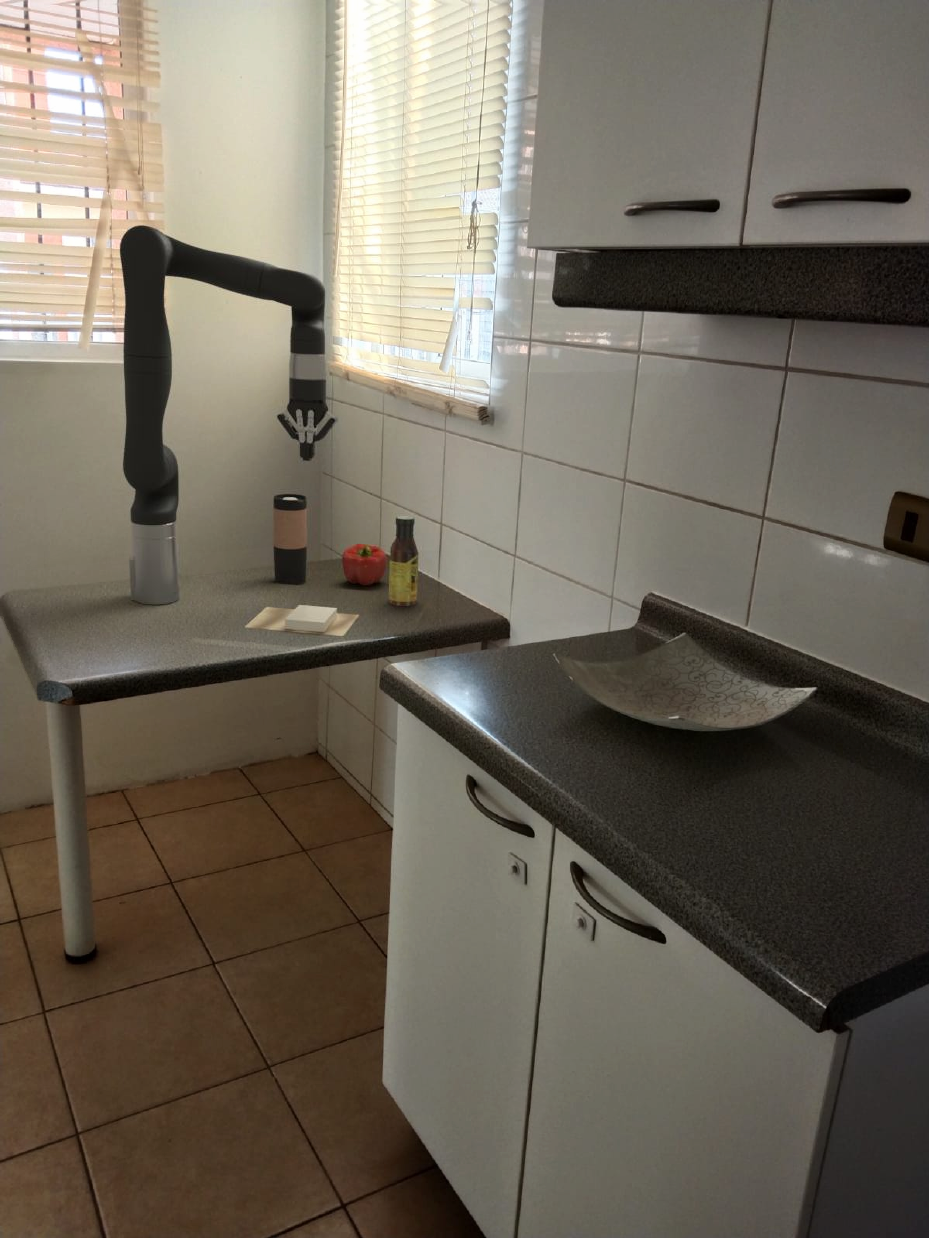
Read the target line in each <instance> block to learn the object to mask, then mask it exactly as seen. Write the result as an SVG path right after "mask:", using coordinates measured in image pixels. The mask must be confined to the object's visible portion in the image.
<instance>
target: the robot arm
mask: <svg viewBox="0 0 929 1238" xmlns="http://www.w3.org/2000/svg"><path fill="white" fill-rule="evenodd" d="M119 256H120V263H121V271H122V278H123V279H122V280H123V288H124V300H125V303H124V318H123V319H124V320H123V321H124V322H123V377H124V378H123V379H124V404H125V405H124V406H125V437H124V448H123V459H122V471H123V475H124V477H125V480H126V482H127V483H128V484H129V486H130V487H132V488H133V489H134V491H135V492H134V493H135V494H134V498H133V499H134V500H133V502H132V505H131V508H130V527H131V528H130V531H131V547H132V555H131V556H129V557H128V566H129V567H128V568H129V569H128V570H129V585H130V601H132V600H134V601H133V602H137V603H139V602H140V604H144V605H165V604H171V603H175V602H177V601H178V600H180V581H179V580H180V575H179V556H178V555H179V552H178V551H179V550H178V532H177V531H178V528H177V525H178V524H177V510H178V507H179V498H180V496H179V492H180V491H179V490H180V487H179V486H180V485H179V482H180V481H179V477H180V476H179V465H178V460H177V457H176V454H175V453H174V452H173V450H171V448H170V447H169V446H167V445H165V444H164V438H163V434H164V433H163V428H164V427H163V425H164V424H163V423H164V417H165V413H166V408H167V405H168V400H169V398H170V393H171V387H172V380H173V379H172V378H173V377H172V376H173V357H172V356H173V354H172V352H173V351H172V342H171V336H170V335H171V334H170V330H169V325H168V319H167V315H166V309H165V288H166V287H165V286H166V285H165V284H166V277H174V278H181V279H182V278H183V279H188V280H189V279H190V280H193V281H197V282H202V283H205V284H208V285H211V286H214V287H217V288H220V289H223V290H224V291H225V290H226V291H228V292H232V293H235V294H240V295H243V296H245V297H246V296H247V297H251V298H255V299H260V300H265V301H272V302H276V303H279V304H282V305H286V306H289V307H291V308H290V309H291V327H290V334H289V335H290V337H289V338H290V340H289V343H290V344H289V347H290V349H289V351H290V353H289V354H290V355H289V361H288V362H289V364H288V388H289V389H288V393H289V394H288V398H289V399H288V403H287V406H286V409H285V410H284V411H283V412H282V413H279V414H277V415H276V419H277V420H278V421H279V423H280V424H281V425H282V427H283V428H284V429H285V431H286V432H287V433H288V435H289V437H290V438H291V439H293V440H296V441H298V442H299V457H300V459H302V461H304V462H305V461H306V462H311V461H312V459H314V458H315V455H316V453H315V452H316V450H315V449H316V442H319V441H321V440H324V438H325V437H326V436H327V434H328V433H329V432H330V431H331V430H332V428H333V427H334V426H335V425H336V424H337V422H338V417H337V416H334V415H333V414H332V413H330V412H329V408H328V405H327V402H326V401H327V373H328V372H327V363H326V361H327V360H326V336H325V335H326V334H325V327H324V326H325V312H326V311H325V308H326V288H325V285H324V283H323V281H322V280H321V279H320V278H319V277H317V275H314V274H311V273H307V272H303V271H298V270H292V269H288V268H287V269H286V268H281V267H279V266H278V267H277V266H276V265H273V264H271V263H267V262H265V261H260V260H256V259H253V258H252V259H251V258H248V257H244V256H240V255H235V254H229V253H224V252H219V251H214V250H208V249H205V248H200V247H197V246H194V245H191V244H188V243H186V242H183V241H181V240H179V239H177V238H173V236H172V237H171V236H170V235H167V234H166V233H165V234H164V233H163V232H162V231H160V230H159V229H157V228H154V227H152V226H148V225H143V224H142V225H135V226H133V227H130V228H129V229H128V230H126V231H125V233H124V234H123V235H122V237H121V239H120V244H119ZM292 419H293V421H294V422H295V424H296V425H297V428H296V426H295V425H294V424H293V423H292V422H291V420H292ZM323 420H324V425H323V426H322V428H321V429H320V430H319V432H318V433H317V430H318V426H319V425H320V423H322V421H323Z"/></svg>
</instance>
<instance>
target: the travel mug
mask: <svg viewBox="0 0 929 1238" xmlns="http://www.w3.org/2000/svg"><path fill="white" fill-rule="evenodd" d="M307 501H308V500H307V496H306V495H303V494H296V493H281V494H276V495H274V496H273V518H272V519H273V522H272V523H273V535H272V536H273V540H272V541H273V564H274V565H273V568H274V582H275V583H277V584H280V585H282V584H283V585H288V586H289V585H291V586H299V585H302V584H305V583H306V581H307V580H306V579H307V559H308V558H307V557H308V556H307V553H308V551H307V550H308V546H307V545H308V531H307V530H308V529H307V528H308V525H307V524H308V521H307V520H308V519H307V518H308V516H307V512H308V511H307V510H308V509H307V505H308V504H307Z"/></svg>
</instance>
